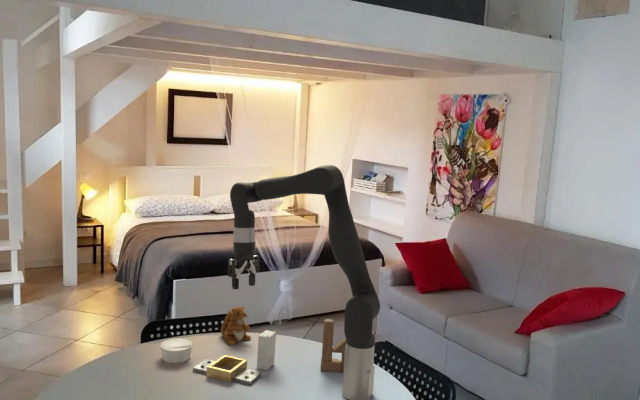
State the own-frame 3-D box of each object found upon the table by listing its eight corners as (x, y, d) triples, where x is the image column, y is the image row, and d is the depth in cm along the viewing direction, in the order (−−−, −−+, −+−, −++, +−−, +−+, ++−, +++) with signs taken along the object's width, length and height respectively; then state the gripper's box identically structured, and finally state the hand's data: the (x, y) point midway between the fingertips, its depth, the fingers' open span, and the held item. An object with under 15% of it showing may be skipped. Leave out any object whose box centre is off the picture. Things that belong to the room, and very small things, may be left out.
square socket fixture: (263, 373, 185) (264, 363, 185) (248, 387, 175) (248, 376, 175) (208, 360, 193) (208, 351, 193) (190, 372, 183) (190, 362, 182)
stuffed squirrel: (232, 346, 206) (233, 313, 205) (212, 335, 217) (214, 303, 215) (253, 341, 213) (255, 308, 212) (234, 330, 223) (235, 299, 222)
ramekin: (175, 367, 186) (176, 353, 185) (153, 359, 192) (153, 345, 191) (199, 357, 196) (199, 343, 195) (176, 349, 201) (177, 335, 201)
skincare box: (263, 361, 195) (265, 329, 193) (275, 364, 193) (276, 331, 192) (255, 368, 189) (257, 335, 188) (267, 371, 188) (269, 337, 186)
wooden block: (351, 373, 190) (354, 323, 187) (320, 371, 190) (323, 321, 187) (350, 368, 193) (354, 320, 191) (320, 367, 193) (323, 318, 191)
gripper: (238, 242, 179) (238, 291, 180) (265, 239, 191) (265, 285, 192) (221, 241, 183) (221, 289, 184) (249, 238, 195) (248, 283, 196)
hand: (243, 287), depth 188 cm, fingers open, 8 cm apart
